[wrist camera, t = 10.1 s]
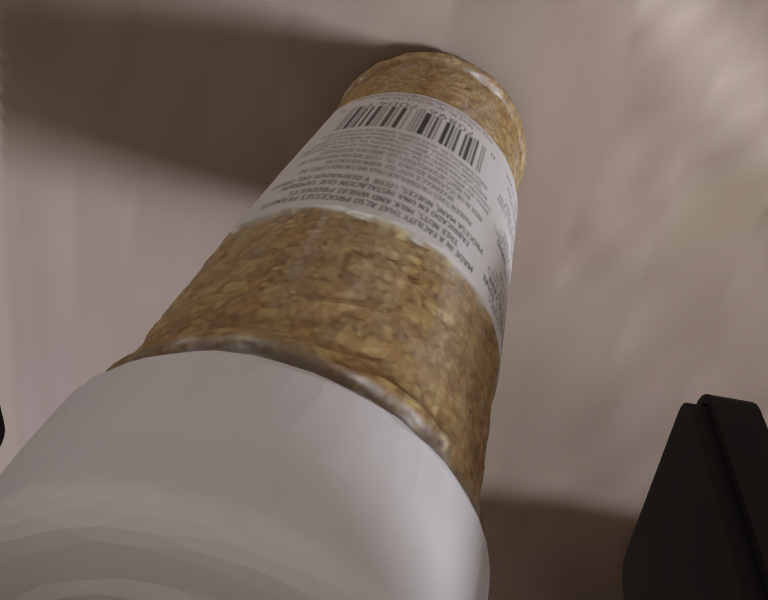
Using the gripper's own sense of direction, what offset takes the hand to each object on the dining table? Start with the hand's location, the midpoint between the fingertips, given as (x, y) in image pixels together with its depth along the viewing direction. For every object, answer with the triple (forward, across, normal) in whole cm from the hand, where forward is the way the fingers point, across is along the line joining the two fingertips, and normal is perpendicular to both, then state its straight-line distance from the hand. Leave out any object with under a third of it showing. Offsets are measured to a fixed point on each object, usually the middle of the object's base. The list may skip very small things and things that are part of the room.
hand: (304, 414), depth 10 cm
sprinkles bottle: (+9, 0, -1) cm, 9 cm away
